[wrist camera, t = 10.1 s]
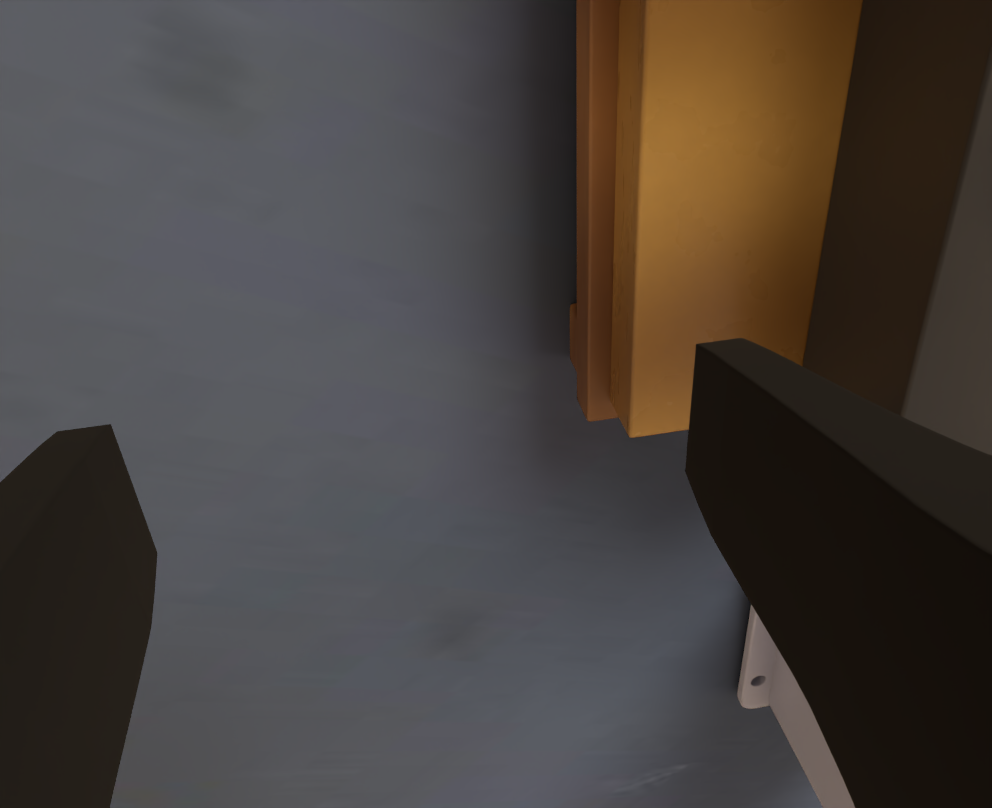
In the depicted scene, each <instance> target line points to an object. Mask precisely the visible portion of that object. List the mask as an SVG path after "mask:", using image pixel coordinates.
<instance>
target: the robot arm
mask: <svg viewBox="0 0 992 808" xmlns="http://www.w3.org/2000/svg"><path fill="white" fill-rule="evenodd" d="M685 472H686V475H687V477H688V480H689V482H690V485H691V488H692V490H693V493H694V495H695V498H696V500H697V503H698V505H699V508H700V510H701V513H702V515H703V517H704V520H705V522H706V524H707V527H708V529H709V531H710V534H711V536H712V537H713V539H714V541H715V543H716V545H717V546H718V548H719V550H720V552H721V553H722V555H723V557H724V559H725V560H726V562H727V564H728V565H729V567H730V569H731V571H732V572H733V574H734V576H735V577H736V579H737V581H738V583H739V584H740V586H741V588H742V589H743V591H744V593H745V594H746V596H747V598H748V600H749V601H750V603H751V608H750V615H749V621H748V628H747V634H746V641H745V647H744V654H743V660H742V667H741V673H740V680H739V686H738V692H737V697H738V699H739V702H740V704H741V705H742V706H743V707H744V708H748V709H754V708H759V707H765V706H770V707H771V709H772V711H773V713H774V714H775V716H776V718H777V720H778V722H779V724H780V726H781V728H782V730H783V732H784V734H785V736H786V737H787V739H788V741H789V743H790V745H791V747H792V749H793V751H794V753H795V755H796V757H797V759H798V760H799V762H800V764H801V766H802V768H803V770H804V772H805V774H806V776H807V778H808V780H809V781H810V783H811V785H812V787H813V789H814V791H815V793H816V795H817V797H818V799H819V801H820V803H821V804H822V806H823V808H992V456H991V455H989V454H986V453H984V452H981V451H979V450H976V449H974V448H971V447H969V446H967V445H964V444H962V443H960V442H957V441H955V440H953V439H951V438H948V437H946V436H944V435H942V434H939V433H937V432H935V431H933V430H930V429H928V428H926V427H923V426H921V425H919V424H917V423H914V422H912V421H910V420H908V419H906V418H904V417H902V416H900V415H898V414H895V413H893V412H891V411H889V410H887V409H885V408H883V407H881V406H879V405H877V404H875V403H873V402H871V401H869V400H867V399H865V398H863V397H861V396H859V395H857V394H855V393H853V392H851V391H849V390H847V389H845V388H843V387H841V386H839V385H837V384H835V383H833V382H831V381H830V380H828V379H826V378H824V377H822V376H820V375H818V374H816V373H814V372H812V371H810V370H808V369H806V368H804V367H803V366H801V365H799V364H797V363H795V362H793V361H791V360H789V359H787V358H785V357H783V356H781V355H779V354H777V353H775V352H773V351H771V350H769V349H767V348H765V347H763V346H760V345H758V344H756V343H754V342H751V341H749V340H746V339H744V338H736V339H729V340H721V341H714V342H707V343H699V344H696V351H695V362H694V374H693V386H692V397H691V409H690V421H689V432H688V444H687V456H686V468H685ZM156 564H157V551H156V548H155V545H154V542H153V540H152V537H151V534H150V531H149V529H148V526H147V523H146V520H145V518H144V515H143V512H142V509H141V507H140V504H139V501H138V498H137V496H136V493H135V490H134V487H133V484H132V482H131V479H130V476H129V473H128V471H127V468H126V465H125V462H124V460H123V457H122V454H121V451H120V449H119V446H118V443H117V440H116V438H115V435H114V432H113V429H112V427H111V424H109V425H102V426H94V427H87V428H80V429H73V430H65V431H58V432H56V433H55V434H54V435H52V436H51V437H50V438H49V439H47V440H46V441H45V442H44V443H43V444H41V445H40V446H39V447H38V448H37V449H36V450H35V451H34V452H32V453H31V454H30V455H29V456H28V457H27V458H26V459H25V460H24V461H23V462H22V463H21V464H19V465H18V466H17V467H16V468H15V469H14V470H13V471H12V472H11V473H10V474H9V475H8V476H7V477H6V478H5V479H4V480H2V481H1V482H0V808H110V803H111V798H112V794H113V790H114V786H115V781H116V777H117V773H118V769H119V764H120V760H121V756H122V752H123V747H124V743H125V739H126V735H127V730H128V726H129V722H130V718H131V713H132V709H133V705H134V701H135V697H136V692H137V688H138V684H139V679H140V675H141V670H142V666H143V662H144V657H145V653H146V648H147V644H148V639H149V634H150V630H151V623H152V613H153V603H154V593H155V578H156Z"/></svg>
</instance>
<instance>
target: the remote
mask: <svg viewBox="0 0 992 808" xmlns="http://www.w3.org/2000/svg"><path fill="white" fill-rule="evenodd" d="M803 367H804V368H806V369H808V370H810V371H812V372H814V373H816V374H818V375H820V376H822V377H824V378H826V379H828V380H830V381H831V382H833V383H835V384H837V385H839V386H841V387H843V388H845V389H847V390H849V391H851V392H853V393H855V394H857V395H859V396H861V397H863V398H865V399H867V400H869V401H871V402H873V403H875V404H877V405H879V406H881V407H883V408H885V409H887V410H889V411H891V412H893V413H895V414H898V415H900V416H902V417H904V418H906V419H908V420H910V421H912V422H914V423H917V424H919V425H921V426H923V427H926V428H928V429H930V430H933V431H935V432H937V433H939V434H942V435H944V436H946V437H948V438H951V439H953V440H955V441H957V442H960V443H962V444H964V445H967V446H969V447H971V448H974V449H976V450H979V451H981V452H984V453H986V454H989V455H991V456H992V0H863V4H862V10H861V16H860V22H859V28H858V34H857V40H856V46H855V52H854V58H853V64H852V70H851V76H850V82H849V88H848V94H847V100H846V106H845V112H844V118H843V124H842V130H841V137H840V143H839V149H838V155H837V161H836V167H835V173H834V179H833V185H832V191H831V197H830V203H829V209H828V215H827V221H826V227H825V233H824V239H823V245H822V251H821V257H820V263H819V269H818V276H817V282H816V288H815V294H814V300H813V306H812V312H811V318H810V324H809V330H808V336H807V342H806V348H805V354H804V360H803Z"/></svg>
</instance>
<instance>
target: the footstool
mask: <svg viewBox="0 0 992 808" xmlns="http://www.w3.org/2000/svg"><path fill="white" fill-rule="evenodd" d="M862 4H863V0H577V303H574V304H571V306H570V359H571V361H572V364H573V366H574V368H575V370H576V372H577V400H578V402H579V404H580V406H581V408H582V411H583V413H584V415H585V417H586V419H587V421H589V422H591V421H598V420H605V419H612V418H619V419H620V421H621V423H622V425H623V426H624V428H625V430H626V432H627V434H628V436H629V437H630V438H636V437H642V436H649V435H656V434H663V433H669V432H676V431H683V430H689V421H690V409H691V397H692V386H693V374H694V362H695V351H696V344H699V343H707V342H714V341H721V340H729V339H736V338H744V339H746V340H749V341H751V342H754V343H756V344H758V345H760V346H763V347H765V348H767V349H769V350H771V351H773V352H775V353H777V354H779V355H781V356H783V357H785V358H787V359H789V360H791V361H793V362H795V363H797V364H799V365H801V366H803V360H804V354H805V348H806V342H807V336H808V330H809V324H810V318H811V312H812V306H813V300H814V294H815V288H816V282H817V276H818V269H819V263H820V257H821V251H822V245H823V239H824V233H825V227H826V221H827V215H828V209H829V203H830V197H831V191H832V185H833V179H834V173H835V167H836V161H837V155H838V149H839V143H840V137H841V130H842V124H843V118H844V112H845V106H846V100H847V94H848V88H849V82H850V76H851V70H852V64H853V58H854V52H855V46H856V40H857V34H858V28H859V22H860V16H861V10H862Z"/></svg>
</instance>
